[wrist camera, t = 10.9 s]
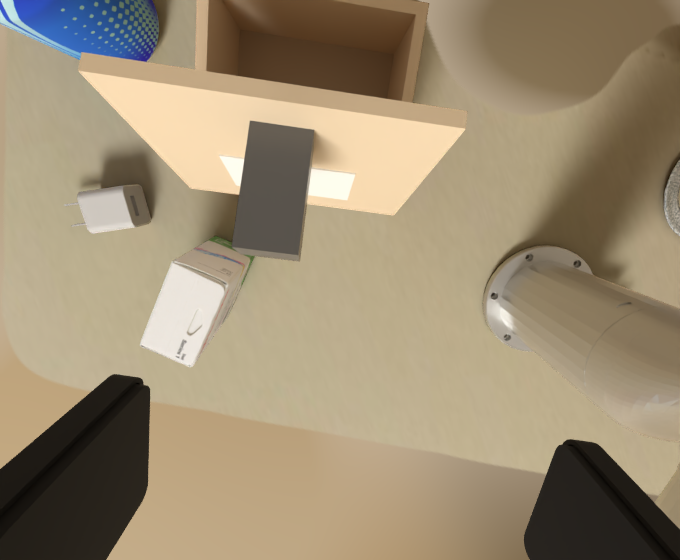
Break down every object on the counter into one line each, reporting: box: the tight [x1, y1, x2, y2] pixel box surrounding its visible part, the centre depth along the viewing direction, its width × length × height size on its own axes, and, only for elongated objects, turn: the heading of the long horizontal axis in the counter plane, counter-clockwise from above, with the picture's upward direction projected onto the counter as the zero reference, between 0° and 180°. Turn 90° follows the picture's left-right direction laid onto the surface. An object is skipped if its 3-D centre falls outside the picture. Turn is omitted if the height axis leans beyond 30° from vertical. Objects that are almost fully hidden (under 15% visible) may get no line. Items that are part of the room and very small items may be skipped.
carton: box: [195, 0, 429, 103], centre depth 32 cm, size 16×14×10 cm
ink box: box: [140, 236, 254, 367], centre depth 36 cm, size 8×5×12 cm, turn 154°
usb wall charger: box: [64, 184, 151, 233], centre depth 37 cm, size 4×7×4 cm, turn 98°
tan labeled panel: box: [78, 52, 467, 261], centre depth 22 cm, size 16×14×7 cm
